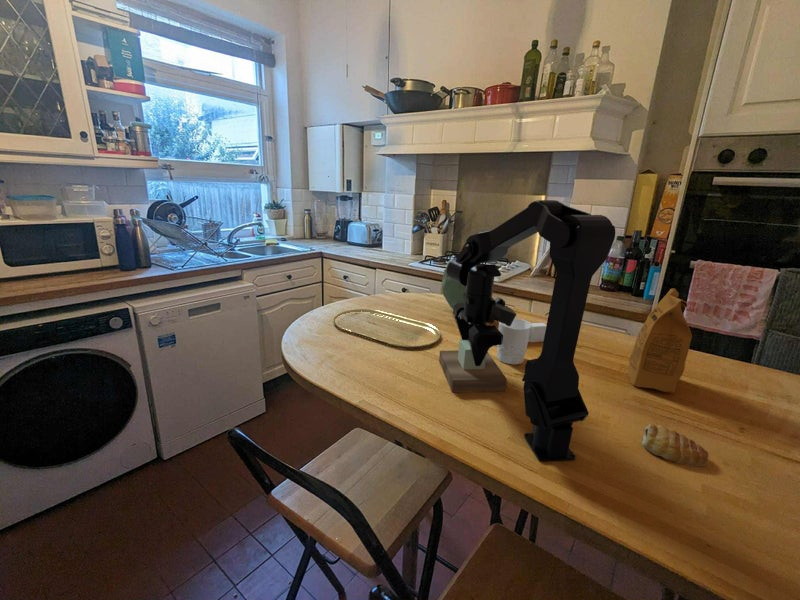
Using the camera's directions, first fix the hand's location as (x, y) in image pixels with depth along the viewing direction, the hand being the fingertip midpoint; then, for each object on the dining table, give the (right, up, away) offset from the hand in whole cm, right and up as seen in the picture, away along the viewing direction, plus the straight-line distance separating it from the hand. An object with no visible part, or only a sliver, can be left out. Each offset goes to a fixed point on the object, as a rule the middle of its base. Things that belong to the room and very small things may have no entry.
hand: (472, 356), depth 86 cm
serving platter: (-21, +4, +26) cm, 34 cm away
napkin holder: (+20, +1, +22) cm, 30 cm away
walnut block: (0, -5, +2) cm, 5 cm away
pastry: (+31, -14, -20) cm, 39 cm away
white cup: (+12, -2, +11) cm, 16 cm away
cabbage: (+6, +9, +42) cm, 43 cm away
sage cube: (0, -2, +1) cm, 2 cm away
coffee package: (+43, -6, +2) cm, 44 cm away
